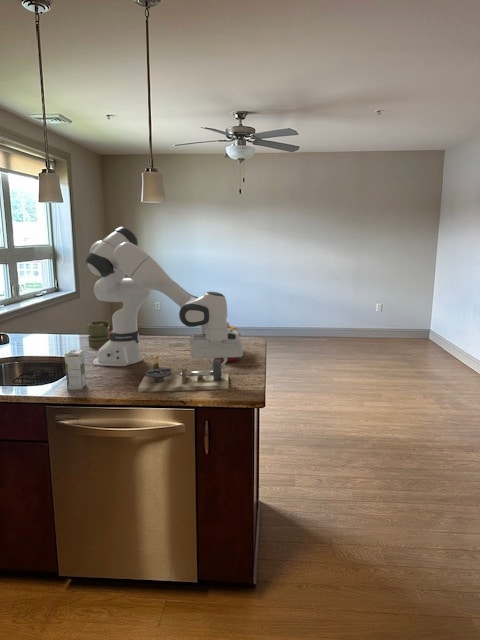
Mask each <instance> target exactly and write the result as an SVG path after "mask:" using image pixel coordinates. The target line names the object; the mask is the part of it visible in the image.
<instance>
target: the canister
mask: <svg viewBox="0 0 480 640" xmlns="http://www.w3.org/2000/svg"><path fill="white" fill-rule="evenodd" d="M227 325H228V328H229V329H232V330H236V331H238V333H239V339H240V340H241V338H240V336H241V333H240V332H239V331H240V330H239V328H238V327H237V326H235V325H230V323H229V322H227ZM241 358H242V356H241V357H228V358H227V362H226V363H235V362H238V361H240V360H241ZM213 360H221V363H223V362H224V358H213Z"/></svg>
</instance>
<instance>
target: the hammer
mask: <svg viewBox="0 0 480 640" xmlns="http://www.w3.org/2000/svg"><path fill="white" fill-rule="evenodd" d="M212 363H213V370H209V371H206V370H205V371H187V372H186V377H187V376H213V378H214V380H221V375H223V374H224V372H223V370H222V368H221V363H222V362H221V360H214V359H212ZM179 375H180V376H181V377H182V371H181V372H180V374H179Z"/></svg>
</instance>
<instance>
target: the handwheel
mask: <svg viewBox="0 0 480 640" xmlns="http://www.w3.org/2000/svg"><path fill="white" fill-rule="evenodd" d="M159 363H160V361H159V355H153V356H152V367H153V368H150V369H148V370H146V371H145V376H147V377H150V378H162V377H167V376H169V375H173V370H172V368H171V367H160V364H159Z"/></svg>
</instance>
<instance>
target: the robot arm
mask: <svg viewBox="0 0 480 640" xmlns="http://www.w3.org/2000/svg"><path fill="white" fill-rule="evenodd" d="M138 244H139V243H138V238H137V236H136V234H134V232H133V231H131V230H130V229H129V228H127V227H126V226H125V227H124V226H119V227H117V228H116V229H114V230H113V231H112V232H111V233H110V234H109V235H107V236H106V237H105V238H103V239H102V240H96V241H95V242H94V243H93V244H92V245H91V247H90V248H89V254H88V256H87V257H86V258H85V264H86V266H87V269H89V270H90V272H91V273H92V274H94V275H95V276H97V277H98V278H100V279H98V280H96V282H95V284H94V286H93V293H94V296H95V297H96V299H97V300H98V301H101V302H102V301H103V302H107V303H113V302H114V303H122V308H120V309H118V310H116V311H115V312H114V313H113V314H112V316H111V322H112V330H111V331H110V333H108V334H109V335H108V336H109V339H110V340H109V341H108V342H107V343H105V344H104V345H103V346H102V347H99V349H98V353H97V357H95V358H94V359H93V361H92V364H93V366H99V367H100V366H101V367H105V366H106V367H108V366H109V367H126V366H129V365H133V364H137V363H140V362H142V361H143V359H144V358H143V355H142V351H141V348H140V333H139V332H140V331H139V329H138V315H139V314H138V312H139V309H140V308H141V306H142V305H143V303H144V302H145V301H147V299H149V297H150V295H151V292H152V290H153V291H157V292H160V293H162V294H164V295H165V296H166V297H168V298H169V299H170V300H171V301H173V302H174V304H176V305H178V306H179V308H180V310H179V313H178V317H179V320H180V322H181V323H182V325H185V326H186V327H189V328H193V327H199V326H200V325H205V334H201V333H200V334H197V333H195V334H193V335H191V336H190V337H189V345H190V346H191V347H190V357H191V358H192V359H206V362H207V363H208V366H209V369H210V370H211V369H213V362H211V359H214V358H224V362H221V369H225V368H226V367H225V365H226V363H228V362H227V358H228V357H241V358H242V356H243V345H242V341H241V338H240V337H239V333H240V332H239V330H238V331H236V330H232V329H229V328H228V325H227V317H228V304H227V299H226V296H225V295H224V294H222V293H221V292H217V291H206V292H205V293H204V294H202V295H201V296H199V297H198V296H195V295H193V294H190V293H189V292H188V291H186V290H185V289H184V288H183V287H181V286H180V284H178V283H176V281H174V280H173V279H172V277H170V276H169V274H167V273H166V271H165V270H164V269H163V268H162V267H161V265H159V263H157V261H156V260H155V259H154V258H153V257H152V256H150V255H149V254H148V253H147V252H146V251H144V250H143V249H142V248H140V247H139V245H138ZM126 276H127V277H126ZM238 332H239V333H238ZM239 338H240V339H239Z"/></svg>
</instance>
